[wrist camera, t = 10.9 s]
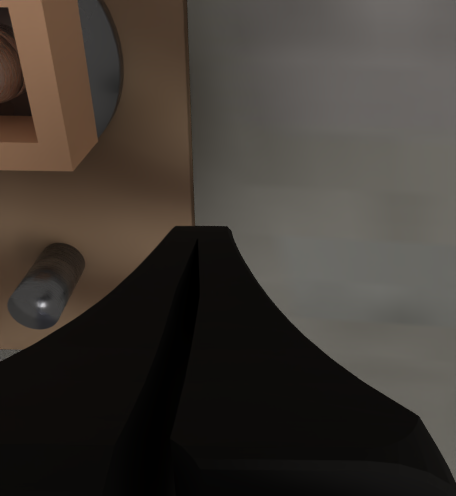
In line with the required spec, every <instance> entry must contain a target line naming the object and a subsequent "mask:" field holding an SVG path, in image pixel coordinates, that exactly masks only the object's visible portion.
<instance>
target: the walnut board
mask: <svg viewBox="0 0 456 496" xmlns="http://www.w3.org/2000/svg"><path fill="white" fill-rule="evenodd" d="M104 2H105V4H106V6H107V7H108V9H109V11H110V13H111V16H112V18H113V21H114V23H115V25H116V28H117V32H118V35H119V38H120V42H121V47H122V53H123V62H124V80H123V89H122V94H121V99H120V102H119V105H118V108H117V110H116V113H115V115H114V117H113V118H112V120H111V122H110V124H109V125H108V126H107V128H106V129H105V130H104V132H103V133H102V134H101V135H100V137H99V138H98V142H97V143H96V144H95V146H94V147H93V148H92V149H91V150H90V152H89V153H88V154H87V155H86V156H85V158H84V159H83V160H82V161H81V162H80V164H79V165H78V166H77V167H76V168H75V170H74V171H16V170H0V349H25V348H27V347H29V346H31V345H33V344H35V343H36V342H38V341H40V340H41V339H43V338H44V337H46V336H48V335H49V334H51V333H52V332H54V331H56V330H57V329H59V328H61V327H62V326H64V325H65V324H67V323H69V322H70V321H72V320H74V319H75V318H76V317H78V316H79V315H81V314H82V313H84V312H85V311H86V310H88V309H89V308H90V307H92V306H93V305H95V304H96V303H97V302H99V301H100V300H101V299H102V298H104V297H105V296H106V295H107V294H109V293H110V292H111V291H112V290H113V289H114V288H115V287H117V286H118V285H119V284H120V283H121V282H122V281H123V280H124V279H125V278H126V277H127V276H129V275H130V274H131V273H132V272H133V271H134V270H135V269H136V268H137V267H138V266H139V265H140V264H141V263H142V262H143V261H144V259H145V258H146V257H147V256H148V255H149V254H150V253H151V252H152V251H153V250H154V249H155V248H156V247H157V245H158V244H159V243H160V242H161V241H162V240H163V239H164V237H165V236H166V235H167V234H168V233H169V232H170V230H171V229H172V228H174V227H175V226H195V215H194V187H193V159H192V130H191V102H190V74H189V46H188V18H187V0H104ZM53 243H65V244H69V245H71V246H73V247H75V248H76V249H77V250H78V251H79V252H80V253H81V254H82V255H83V257H84V260H85V269H84V271H83V273H82V275H81V277H80V279H79V281H78V283H77V285H76V287H75V289H74V291H73V293H72V295H71V296H70V298H69V300H68V302H67V304H66V306H65V308H64V310H63V312H62V314H61V316H60V318H59V320H58V322H57V323H56V324H55V325H54V326H52V327H50V328H47V329H41V330H38V329H31V328H28V327H25V326H23V325H21V324H20V323H18V322H17V321H16V320H14V318H13V317H12V316H11V315H10V313H9V311H8V306H7V304H8V300H9V298H10V297H11V295H12V294H13V292H14V291H15V289H16V288H17V287H18V285H19V284H20V282H21V281H22V279H23V278H24V277H25V275H26V274H27V272H28V271H29V269H30V268H31V267H32V265H33V264H34V262H35V261H36V260H37V258H38V257H39V255H40V254H41V252H42V251H43V250H44V248H45V247H46V246H48V245H50V244H53Z"/></svg>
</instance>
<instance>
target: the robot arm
mask: <svg viewBox="0 0 456 496" xmlns="http://www.w3.org/2000/svg"><path fill="white" fill-rule="evenodd" d="M0 496H456V482H455V480H454V478H453V476H452V473H451V471H450V469H449V467H448V465H447V463H446V462H445V460H444V458H443V456H442V454H441V453H440V451H439V449H438V447H437V445H436V444H435V442H434V440H433V439H432V437H431V435H430V434H429V432H428V430H427V429H426V427H425V425H424V424H423V422H422V420H421V419H420V417H419V416H418V415H416V414H415V413H413V412H411V411H410V410H408V409H407V408H405V407H403V406H402V405H400V404H398V403H397V402H395V401H394V400H392V399H390V398H389V397H387V396H385V395H384V394H382V393H380V392H379V391H377V390H376V389H374V388H372V387H371V386H369V385H367V384H366V383H364V382H363V381H361V380H360V379H359V378H357V377H356V376H354V375H353V374H352V373H350V372H349V371H348V370H346V369H345V368H343V367H342V366H341V365H339V364H338V363H336V362H335V361H334V360H333V359H331V358H330V357H329V356H328V355H326V354H325V353H324V352H323V351H322V350H321V349H319V348H318V347H317V346H316V345H315V344H314V343H312V342H311V341H310V340H309V339H308V338H306V337H305V336H304V335H303V334H302V333H301V332H300V331H299V330H298V329H297V328H296V327H295V326H294V325H293V324H292V323H291V322H290V321H289V320H288V319H287V318H286V316H285V315H284V314H283V313H282V312H281V311H280V310H279V309H278V308H277V306H276V305H275V304H274V303H273V302H272V300H271V299H270V298H269V297H268V295H267V294H266V293H265V291H264V290H263V289H262V287H261V286H260V285H259V283H258V282H257V280H256V279H255V277H254V276H253V274H252V273H251V271H250V269H249V268H248V266H247V264H246V263H245V261H244V259H243V258H242V256H241V254H240V252H239V250H238V248H237V246H236V243H235V241H234V238H233V235H232V231H231V230H230V229H229V228H228V227H227V226H175V227H174V228H172V229H171V230H170V232H169V233H168V234H167V235H166V236H165V237H164V239H163V240H162V241H161V242H160V243H159V244H158V245H157V247H156V248H155V249H154V250H153V251H152V252H151V253H150V254H149V255H148V256H147V257H146V258H145V259H144V261H143V262H142V263H141V264H140V265H139V266H138V267H137V268H136V269H135V270H134V271H133V272H132V273H131V274H130V275H129V276H127V277H126V278H125V279H124V280H123V281H122V282H121V283H120V284H119V285H118V286H117V287H115V288H114V289H113V290H112V291H111V292H110V293H109V294H107V295H106V296H105V297H104V298H102V299H101V300H100V301H99V302H97V303H96V304H95V305H93V306H92V307H90V308H89V309H88V310H86V311H85V312H84V313H82V314H81V315H79V316H78V317H76V318H75V319H74V320H72V321H70V322H69V323H67V324H65V325H64V326H62V327H61V328H59V329H57V330H56V331H54V332H52V333H51V334H49V335H48V336H46V337H44V338H43V339H41V340H40V341H38V342H36V343H35V344H33V345H31V346H29V347H27V348H25V349H24V350H22V351H20V352H18V353H16V354H14V355H12V356H10V357H9V358H7V359H5V360H3V361H1V362H0Z"/></svg>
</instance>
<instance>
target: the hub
mask: <svg viewBox="0 0 456 496" xmlns="http://www.w3.org/2000/svg"><path fill="white" fill-rule="evenodd" d="M77 1H78V8H79V15H80V22H81V28H82V35H83V42H84V49H85V56H86V62H87V69H88V76H89V83H90V90H91V96H92V103H93V110H94V117H95V124H96V130H97V137H98V138H99V137H100V135H101V134H102V133H103V132H104V130H105V129H106V128H107V126H108V125H109V124H110V122H111V120H112V118H113V117H114V115H115V113H116V110H117V108H118V105H119V102H120V99H121V94H122V89H123V80H124V62H123V53H122V47H121V42H120V38H119V35H118V32H117V28H116V25H115V23H114V21H113V18H112V16H111V13H110V11H109V9H108V7H107V6H106V4H105V2H104V0H77ZM0 116H32V113H31V108H30V104H29V99H28V95H27V90H26V86H25V81H24V77H23V72H22V68H21V63H20V59H19V54H18V50H17V45H16V41H15V36H14V32H13V27H12V23H11V18H10V14H9V9H8V7H0Z"/></svg>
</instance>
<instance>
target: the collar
mask: <svg viewBox="0 0 456 496" xmlns="http://www.w3.org/2000/svg"><path fill="white" fill-rule="evenodd" d="M0 7H8V9H9V14H10V18H11V23H12V27H13V32H14V36H15V41H16V45H17V50H18V54H19V59H20V63H21V68H22V72H23V77H24V81H25V86H26V90H27V95H28V99H29V104H30V108H31V113H32V116H0V170H16V171H74V170H75V168H76V167H77V166H78V165H79V164H80V162H81V161H82V160H83V159H84V158H85V156H86V155H87V154H88V153H89V152H90V150H91V149H92V148H93V147H94V146H95V144H96V143H97V142H98V137H97V130H96V124H95V117H94V110H93V103H92V96H91V90H90V83H89V76H88V69H87V62H86V56H85V49H84V42H83V35H82V28H81V22H80V15H79V8H78V1H77V0H0Z"/></svg>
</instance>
